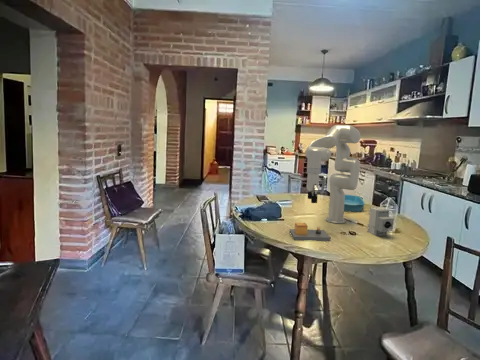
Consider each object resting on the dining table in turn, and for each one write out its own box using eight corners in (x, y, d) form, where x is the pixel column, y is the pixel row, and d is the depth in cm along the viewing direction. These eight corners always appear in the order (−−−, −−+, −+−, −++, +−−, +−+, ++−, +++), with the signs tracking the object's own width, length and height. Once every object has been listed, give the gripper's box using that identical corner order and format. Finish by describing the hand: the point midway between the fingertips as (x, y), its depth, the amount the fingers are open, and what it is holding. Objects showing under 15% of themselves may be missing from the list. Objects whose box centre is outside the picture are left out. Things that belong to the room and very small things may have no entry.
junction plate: (289, 232, 203) (290, 223, 202) (323, 233, 203) (324, 224, 202) (293, 240, 189) (294, 230, 188) (330, 241, 189) (331, 231, 189)
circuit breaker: (382, 239, 195) (385, 213, 193) (367, 231, 209) (369, 207, 207) (393, 238, 197) (396, 212, 195) (377, 231, 211) (380, 206, 209)
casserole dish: (366, 214, 252) (367, 204, 250) (334, 212, 256) (335, 202, 255) (359, 203, 287) (360, 195, 286) (331, 201, 292) (332, 193, 290)
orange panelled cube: (294, 231, 198) (294, 222, 198) (304, 231, 199) (305, 222, 198) (296, 234, 193) (296, 225, 192) (307, 234, 193) (307, 225, 192)
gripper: (304, 168, 201) (302, 197, 205) (310, 173, 184) (308, 204, 188) (317, 168, 202) (315, 197, 205) (324, 173, 185) (322, 204, 188)
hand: (312, 200), depth 196 cm, fingers open, 9 cm apart
